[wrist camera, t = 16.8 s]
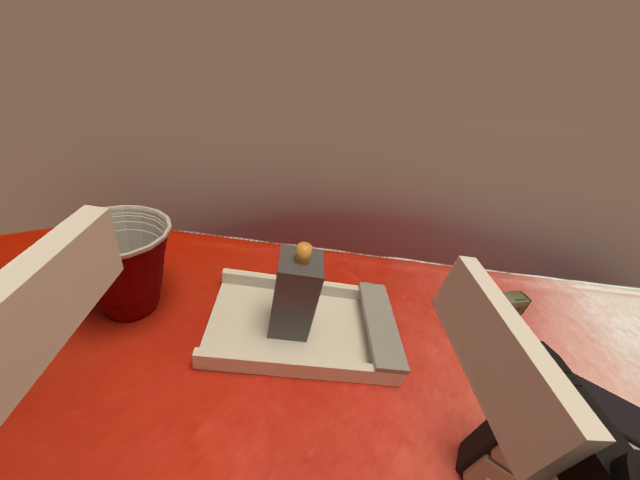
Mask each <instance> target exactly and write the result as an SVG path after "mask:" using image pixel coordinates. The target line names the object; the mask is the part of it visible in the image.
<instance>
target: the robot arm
mask: <svg viewBox="0 0 640 480" xmlns="http://www.w3.org/2000/svg"><path fill="white" fill-rule="evenodd" d="M123 269H124V268H123V264H122V260H121V256H120V252H119V247H118V243H117V239H116V235H115V231H114V227H113V222H112V218H111V214H110V210H109V208H104V207H95V206H89V205H84V206H83V207H81V208H80V209H79V210H77V211H76V212H75V213H74V214H72V215H71V216H70V217H69V218H67V219H66V220H64V221H63V222H62V223H60V224H59V225H58V226H57V227H55V228H54V229H53V230H51V231H50V232H49V233H47V234H46V235H45V236H43V237H42V238H41V239H40V240H38V241H37V242H36V243H34V244H33V245H32V246H30V247H29V248H28V249H26V250H25V251H24V252H23V253H21V254H20V255H19V256H17V257H16V258H15V259H13V260H12V261H11V262H9V263H8V264H7V265H6V266H4V267H3V268H2V269H0V426H1V425H2V424H3V423H4V421H5V420H6V419H7V417H8V416H9V415H10V414H11V412H12V411H13V410H14V409H15V407H16V406H17V405H18V403H19V402H20V401H21V400H22V398H23V397H24V396H25V394H26V393H27V392H28V391H29V389H30V388H31V387H32V386H33V384H34V383H35V382H36V380H37V379H38V378H39V377H40V375H41V374H42V373H43V371H44V370H45V369H46V368H47V366H48V365H49V364H50V362H51V361H52V360H53V359H54V357H55V356H56V355H57V354H58V352H59V351H60V350H61V348H62V347H63V346H64V345H65V343H66V342H67V341H68V339H69V338H70V337H71V336H72V334H73V333H74V332H75V331H76V329H77V328H78V327H79V325H80V324H81V323H82V322H83V320H84V319H85V318H86V316H87V315H88V314H89V313H90V311H91V310H92V309H93V308H94V306H95V305H96V304H97V302H98V301H99V300H100V299H101V297H102V296H103V295H104V293H105V292H106V291H107V290H108V288H109V287H110V286H111V285H112V283H113V282H114V281H115V279H116V278H117V277H118V276H119V274H120V273H121V272H122V270H123ZM432 304H433V306H434V308H435V311H436V313H437V315H438V317H439V319H440V321H441V323H442V325H443V328H444V330H445V332H446V334H447V336H448V338H449V340H450V342H451V345H452V347H453V349H454V351H455V353H456V355H457V357H458V359H459V361H460V364H461V366H462V368H463V370H464V372H465V374H466V376H467V378H468V381H469V383H470V385H471V387H472V389H473V391H474V393H475V395H476V398H477V400H478V402H479V404H480V406H481V408H482V410H483V412H484V415H485V417H486V419H487V421H488V423H489V425H490V427H491V429H492V431H493V434H494V436H495V438H496V440H497V442H498V444H499V446H500V448H501V451H502V453H503V455H504V457H505V459H506V461H507V463H508V465H509V468H510V470H511V472H512V474H513V476H514V478H515V480H551V479H553V478H554V477H556V476H557V478H558V479H559V480H640V450H637V449H634V448H633V447H632V446H631V445H630V444H629V443H628V442H627V440H626V439H625V438H624V437H623V435H622V434H621V433H620V432H619V430H618V429H617V428H616V427H615V425H614V424H613V423H612V422H611V420H610V419H609V418H608V417H607V415H606V414H605V413H604V411H603V410H602V409H601V408H600V406H599V405H598V404H597V403H596V401H595V400H594V399H593V398H592V396H591V395H590V394H589V393H588V391H587V390H586V389H584V388H583V387H582V386H583V385H582V384H581V382H580V381H579V380H578V379H577V377H576V376H575V375H572V371H571V370H570V369H569V367H568V366H567V365H566V364H565V362H564V361H563V360H562V358H561V357H560V356H559V355H558V354H557V353H556V352H554V351H553V350H552V349H551V348H550V347H549V346H548V345H546V344H545V343H544V342H543V341H539V340H538V338H537V337H536V336H535V334H534V333H533V332H532V331H531V329H530V328H529V327H528V325H527V324H526V323H525V321H524V320H523V319H522V317H521V316H520V315H519V314H518V312H517V311H516V310H515V308H514V307H513V306H512V304H511V303H510V302H509V300H508V299H507V298H506V297H505V295H504V294H503V293H502V291H501V290H500V289H499V287H498V286H497V285H496V283H495V282H494V281H493V280H492V278H491V277H490V276H489V274H488V273H487V272H486V270H485V269H484V268H483V267H482V265H481V264H480V263H479V261H478V260H477V259H476V258H473V257H465V256H458V258H457V260H456V262H455V263H454V265H453V267H452V268H451V270H450V272H449V274H448V275H447V277H446V279H445V281H444V282H443V284H442V286H441V288H440V289H439V291H438V293H437V295H436V296H435V298H434V300H433V302H432Z"/></svg>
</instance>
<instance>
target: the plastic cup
mask: <svg viewBox="0 0 640 480" xmlns="http://www.w3.org/2000/svg"><path fill="white" fill-rule="evenodd" d="M104 208H109V210H110V214H111V218H112V222H113V227H114V231H115V235H116V239H117V243H118V247H119V252H120V256H121V260H122V264H123V268H124V269H123V270H122V272H121V273H120V274H119V276H118V277H117V278H116V279H115V281H114V282H113V283H112V285H111V286H110V287H109V288H108V290H107V291H106V292H105V293H104V295H103V296H102V297H101V299H100V300H99V301H98V303H99V305H100V306H101V308H102V310H103V311H104V312H105V313H106V315H107V316H108V317H110V319H113V320H115V321H118V322H132V321H136V320H140V319H142V318H144V317H146V316H148V315H149V314H150V313H151V312H152V311H153V310H154V309H155V308H156V306H157V304H158V301H159V298H160V287H161V284H162V275H163V264H164V254H165V249H166V242H167V236H168V234H169V232H170V230H171V226H172V225H171V222H170V219H169V216H167V215H166V214H164V213H163V212H161V211H160V210H157V209H153V208H149V207H146V206H134V205H120V206H110V207H104ZM62 222H63V221H62ZM62 222H61V223H62ZM58 225H59V224H58ZM58 225H57V226H58ZM57 226H56V227H57Z"/></svg>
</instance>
